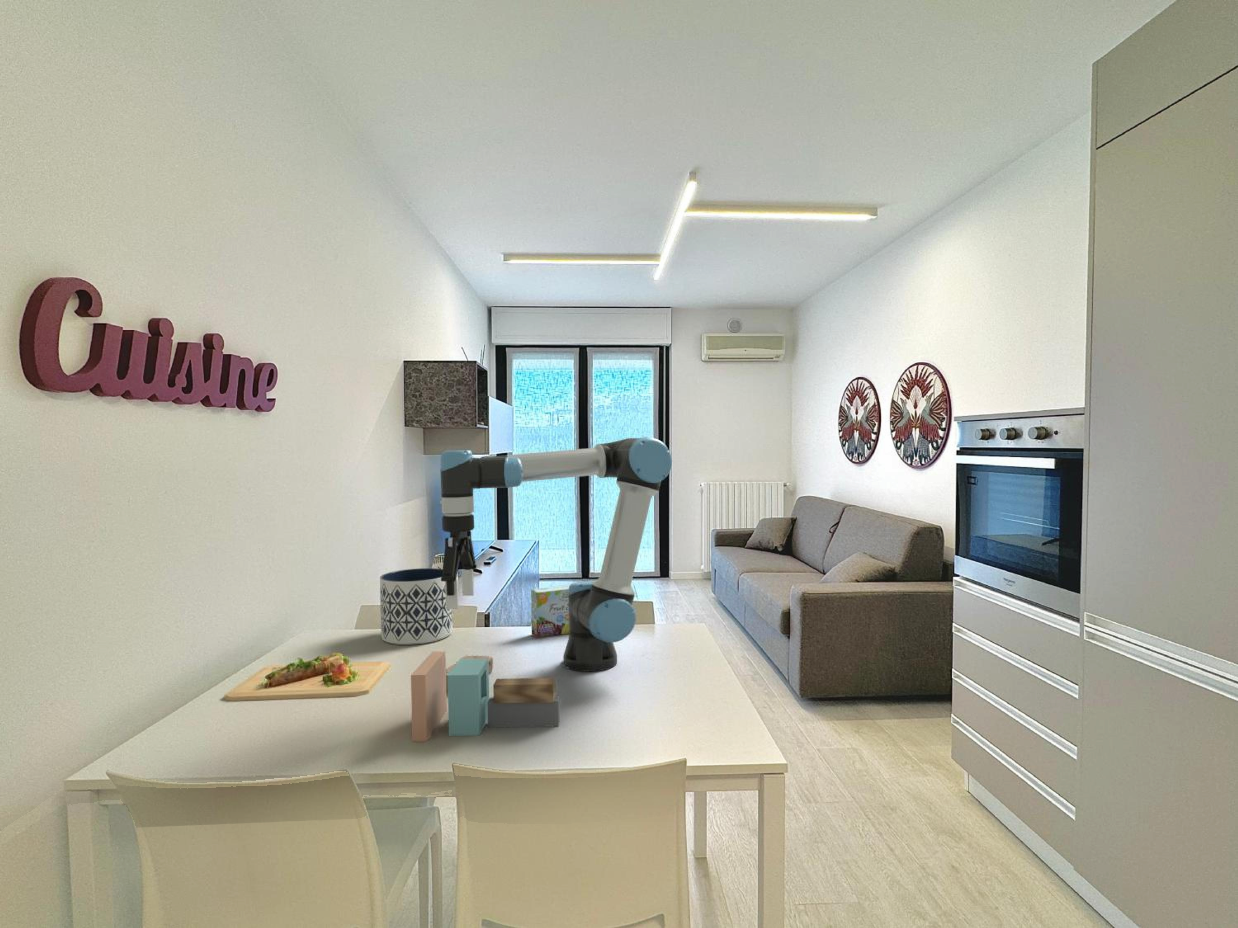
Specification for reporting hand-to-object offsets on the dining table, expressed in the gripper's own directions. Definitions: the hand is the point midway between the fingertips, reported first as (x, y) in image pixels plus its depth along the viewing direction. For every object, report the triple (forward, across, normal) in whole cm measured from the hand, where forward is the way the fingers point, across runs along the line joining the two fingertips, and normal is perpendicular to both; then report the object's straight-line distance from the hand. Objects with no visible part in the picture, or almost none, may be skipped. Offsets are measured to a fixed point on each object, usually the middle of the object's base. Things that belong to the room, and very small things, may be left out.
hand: (460, 601), depth 162 cm
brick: (+25, -14, -3) cm, 28 cm away
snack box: (+25, -59, +17) cm, 66 cm away
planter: (+24, -55, -31) cm, 68 cm away
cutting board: (+25, -13, -44) cm, 52 cm away
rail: (+24, +14, +18) cm, 33 cm away
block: (+24, +14, +6) cm, 28 cm away
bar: (+19, +14, +18) cm, 29 cm away
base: (+24, +15, -3) cm, 28 cm away
